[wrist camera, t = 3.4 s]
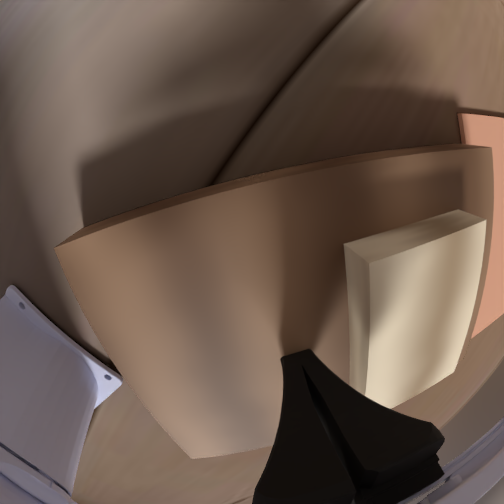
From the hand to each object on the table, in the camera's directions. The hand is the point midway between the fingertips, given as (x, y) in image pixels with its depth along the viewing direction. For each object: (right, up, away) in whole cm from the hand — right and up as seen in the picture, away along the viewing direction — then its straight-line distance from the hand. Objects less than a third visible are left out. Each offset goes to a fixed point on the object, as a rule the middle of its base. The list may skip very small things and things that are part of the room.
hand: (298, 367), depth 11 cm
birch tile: (+6, +2, +1) cm, 6 cm away
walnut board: (+2, +2, +4) cm, 5 cm away
